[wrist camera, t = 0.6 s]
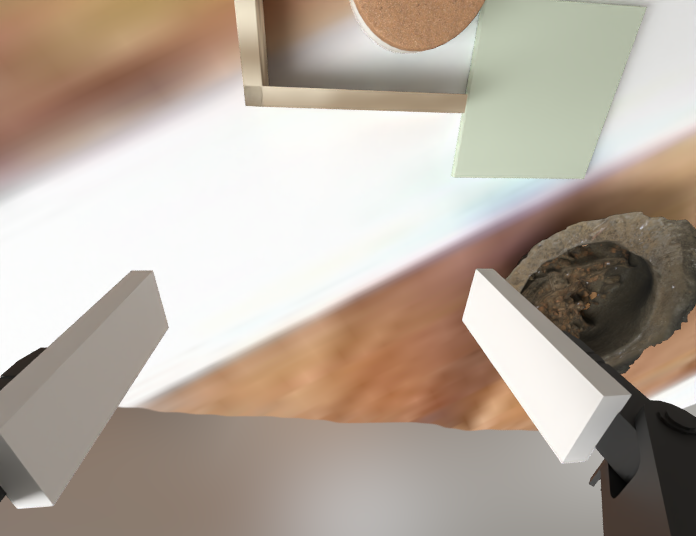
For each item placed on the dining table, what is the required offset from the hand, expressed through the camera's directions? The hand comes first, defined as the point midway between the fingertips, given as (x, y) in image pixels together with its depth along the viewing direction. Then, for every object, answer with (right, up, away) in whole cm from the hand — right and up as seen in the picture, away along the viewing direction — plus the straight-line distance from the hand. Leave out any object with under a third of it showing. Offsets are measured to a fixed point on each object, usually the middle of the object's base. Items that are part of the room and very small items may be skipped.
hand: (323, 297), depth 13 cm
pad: (+21, +19, +20) cm, 35 cm away
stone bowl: (+30, -1, +32) cm, 44 cm away
